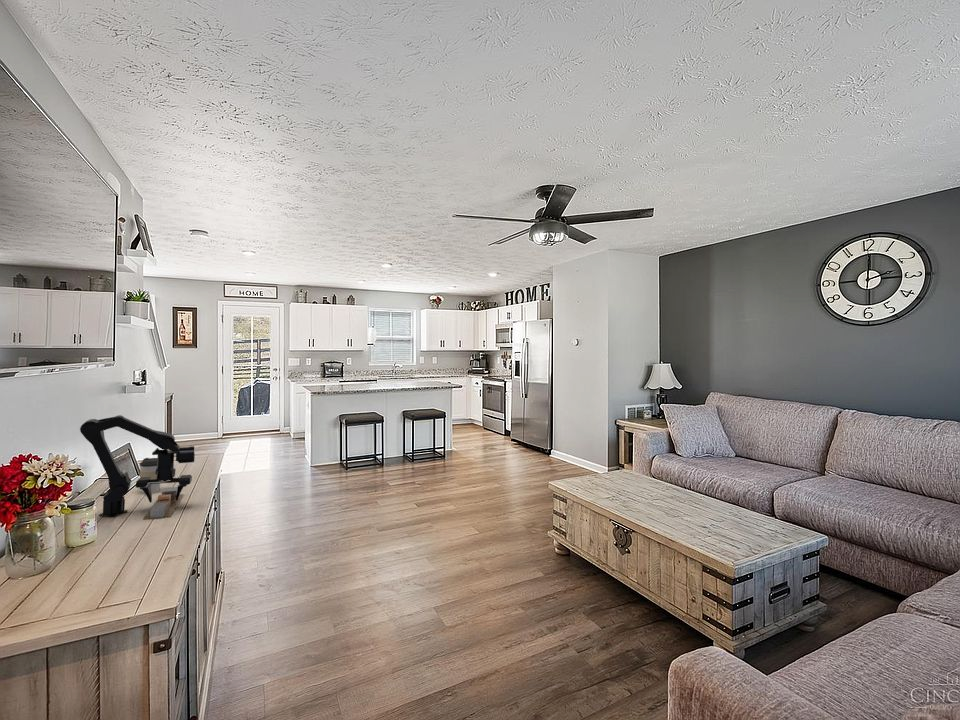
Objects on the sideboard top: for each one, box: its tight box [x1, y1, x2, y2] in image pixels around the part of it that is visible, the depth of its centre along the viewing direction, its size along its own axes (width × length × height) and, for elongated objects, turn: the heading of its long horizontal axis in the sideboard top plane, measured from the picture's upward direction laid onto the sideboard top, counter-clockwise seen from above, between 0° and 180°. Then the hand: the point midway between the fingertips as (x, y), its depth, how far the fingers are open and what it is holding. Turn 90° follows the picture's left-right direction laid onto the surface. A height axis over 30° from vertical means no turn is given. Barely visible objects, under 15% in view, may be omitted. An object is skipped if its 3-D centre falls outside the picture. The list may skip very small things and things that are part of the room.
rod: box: [157, 494, 171, 506], centre depth 187 cm, size 16×4×4 cm, turn 24°
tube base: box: [143, 486, 185, 520], centre depth 191 cm, size 28×9×4 cm, turn 24°
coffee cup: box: [139, 457, 161, 494], centre depth 209 cm, size 9×9×15 cm
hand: (164, 501), depth 189 cm, fingers open, 9 cm apart
